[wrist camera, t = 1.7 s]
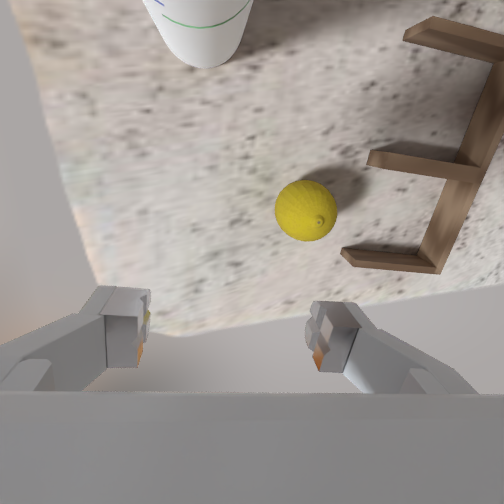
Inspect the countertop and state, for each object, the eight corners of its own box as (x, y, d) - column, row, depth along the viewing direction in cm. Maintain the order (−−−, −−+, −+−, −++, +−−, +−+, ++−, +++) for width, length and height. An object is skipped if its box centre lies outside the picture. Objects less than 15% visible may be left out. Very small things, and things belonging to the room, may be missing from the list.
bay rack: (405, 30, 26) (432, 15, 22) (531, 62, 28) (571, 53, 25) (340, 253, 34) (353, 266, 31) (441, 263, 36) (463, 276, 33)
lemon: (326, 183, 30) (362, 200, 23) (307, 230, 32) (334, 260, 25) (278, 167, 29) (300, 180, 22) (261, 218, 31) (276, 245, 24)
